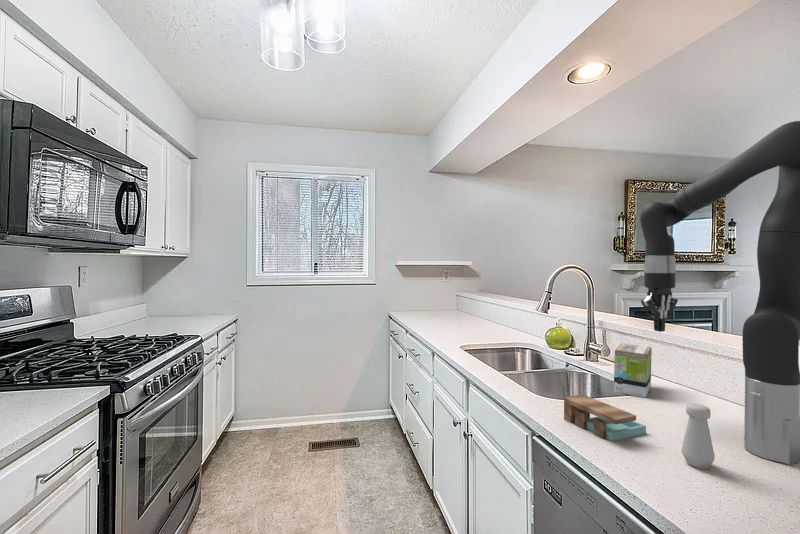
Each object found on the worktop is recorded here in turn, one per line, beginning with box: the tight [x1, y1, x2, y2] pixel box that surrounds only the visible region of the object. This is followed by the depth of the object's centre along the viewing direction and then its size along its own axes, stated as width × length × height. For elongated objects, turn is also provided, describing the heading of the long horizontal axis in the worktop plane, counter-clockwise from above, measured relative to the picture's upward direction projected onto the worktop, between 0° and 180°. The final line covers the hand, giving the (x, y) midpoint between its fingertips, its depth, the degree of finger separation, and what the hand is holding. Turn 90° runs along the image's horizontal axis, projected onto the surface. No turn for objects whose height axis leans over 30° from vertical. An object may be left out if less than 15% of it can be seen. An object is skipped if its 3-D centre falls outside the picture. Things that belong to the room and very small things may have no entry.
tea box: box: [613, 343, 653, 399], centre depth 135 cm, size 15×10×15 cm, turn 143°
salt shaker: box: [681, 403, 715, 470], centre depth 84 cm, size 6×6×13 cm
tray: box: [586, 416, 647, 442], centre depth 102 cm, size 9×12×2 cm
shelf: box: [563, 394, 637, 440], centre depth 102 cm, size 16×7×6 cm, turn 21°
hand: (659, 331), depth 112 cm, fingers closed
